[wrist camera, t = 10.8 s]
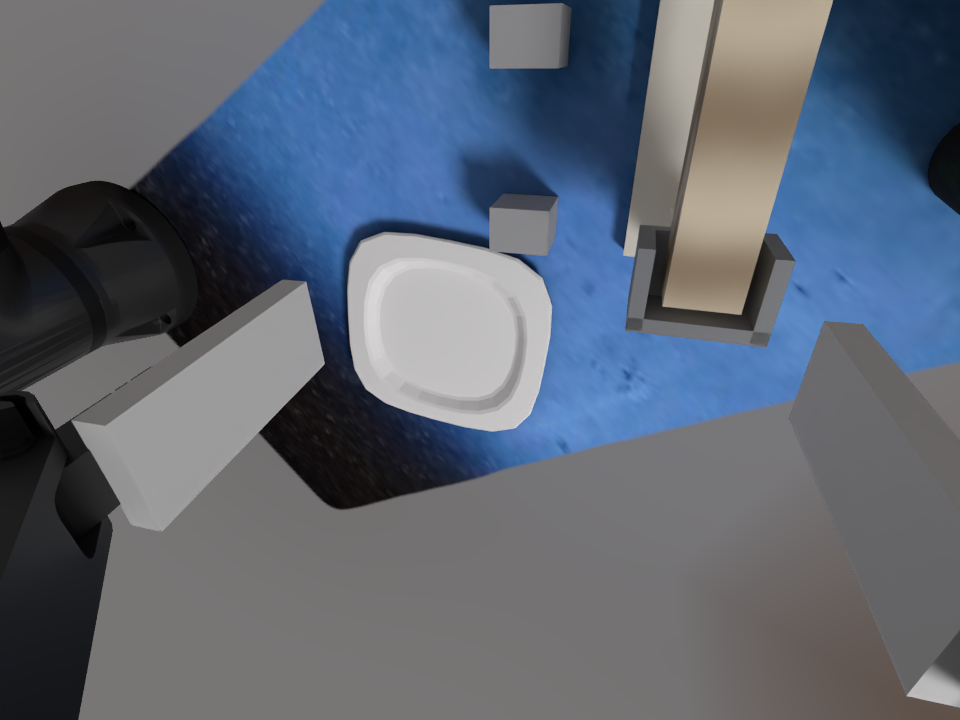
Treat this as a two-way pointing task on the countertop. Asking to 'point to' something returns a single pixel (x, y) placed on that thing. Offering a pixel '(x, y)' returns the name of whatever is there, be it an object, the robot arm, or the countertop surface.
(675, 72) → the bracket stand
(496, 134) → the countertop surface
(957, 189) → the cup
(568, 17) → the rests
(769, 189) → the rail
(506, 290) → the plate
